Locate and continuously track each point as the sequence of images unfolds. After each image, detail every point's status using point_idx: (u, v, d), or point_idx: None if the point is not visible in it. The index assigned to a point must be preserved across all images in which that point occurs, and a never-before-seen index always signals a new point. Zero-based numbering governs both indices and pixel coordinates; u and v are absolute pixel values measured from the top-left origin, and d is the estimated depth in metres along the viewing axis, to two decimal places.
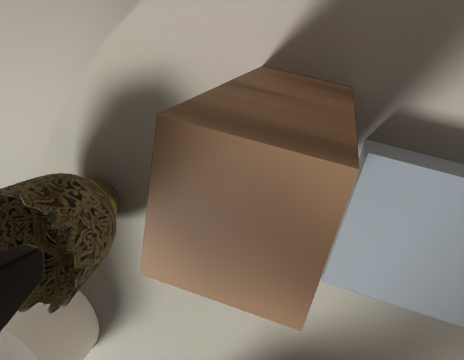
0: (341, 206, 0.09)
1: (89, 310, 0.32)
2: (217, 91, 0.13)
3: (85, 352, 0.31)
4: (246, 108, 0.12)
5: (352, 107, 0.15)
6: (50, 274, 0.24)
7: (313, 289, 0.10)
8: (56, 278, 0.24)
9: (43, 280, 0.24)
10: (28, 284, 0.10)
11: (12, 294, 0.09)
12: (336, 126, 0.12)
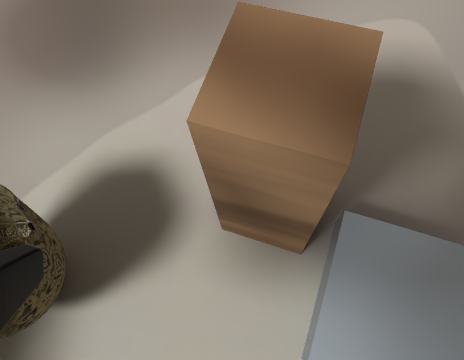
0: (374, 54, 0.12)
1: None
2: None
3: None
4: None
5: None
6: None
7: (358, 121, 0.11)
8: None
9: None
10: (28, 284, 0.10)
11: (12, 294, 0.09)
12: None
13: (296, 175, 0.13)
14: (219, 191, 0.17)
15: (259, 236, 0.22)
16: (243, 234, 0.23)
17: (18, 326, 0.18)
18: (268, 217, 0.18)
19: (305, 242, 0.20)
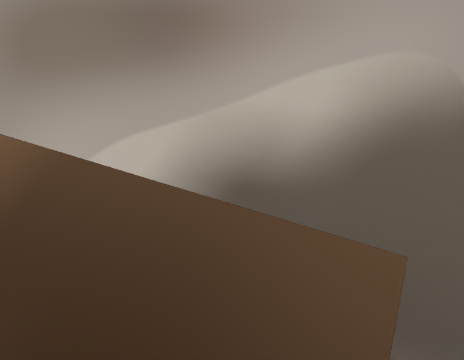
0: None
1: None
2: None
3: None
4: None
5: None
6: None
7: None
8: None
9: None
10: None
11: None
12: None
13: None
14: None
15: None
16: None
17: None
18: None
19: None
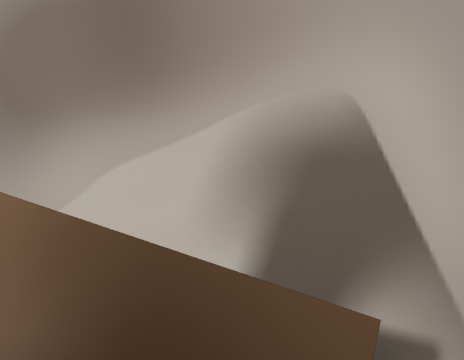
0: None
1: None
2: None
3: None
4: None
5: None
6: None
7: None
8: None
9: None
10: None
11: None
12: None
13: None
14: None
15: None
16: None
17: None
18: None
19: None
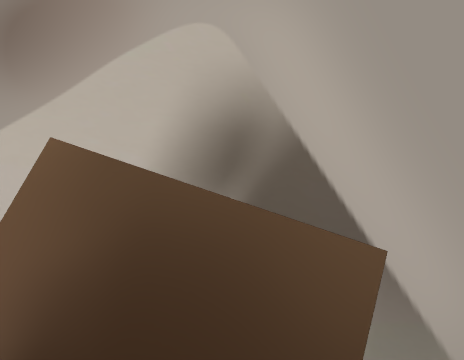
0: (361, 327, 0.05)
1: None
2: None
3: None
4: None
5: None
6: None
7: None
8: None
9: None
10: None
11: None
12: None
13: None
14: None
15: None
16: None
17: None
18: None
19: None
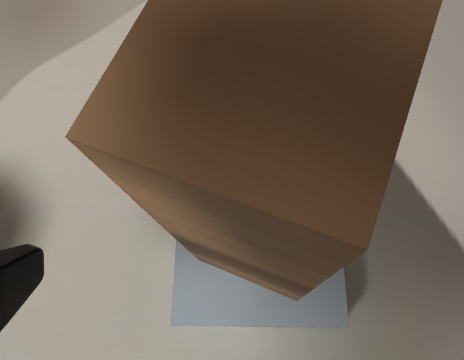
0: (427, 26, 0.06)
1: None
2: None
3: None
4: None
5: None
6: None
7: (390, 156, 0.06)
8: None
9: None
10: (28, 284, 0.10)
11: (12, 294, 0.09)
12: None
13: (271, 239, 0.07)
14: (173, 229, 0.12)
15: (242, 276, 0.17)
16: (223, 269, 0.18)
17: None
18: (247, 266, 0.13)
19: (300, 295, 0.15)
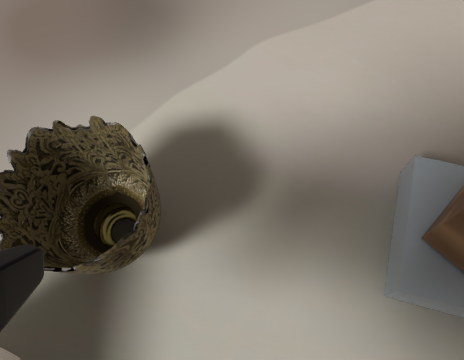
0: None
1: None
2: None
3: None
4: None
5: None
6: (62, 265, 0.19)
7: None
8: None
9: (55, 264, 0.18)
10: (28, 284, 0.10)
11: (12, 294, 0.09)
12: None
13: None
14: None
15: None
16: (448, 254, 0.19)
17: (131, 256, 0.19)
18: None
19: None
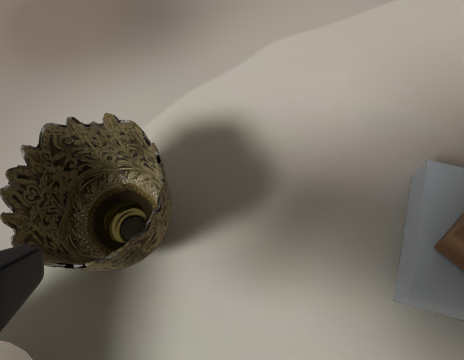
0: None
1: None
2: None
3: None
4: None
5: None
6: (73, 262, 0.19)
7: None
8: None
9: (66, 261, 0.18)
10: (28, 284, 0.10)
11: (12, 294, 0.09)
12: None
13: None
14: None
15: None
16: (460, 264, 0.19)
17: (141, 254, 0.19)
18: None
19: None
